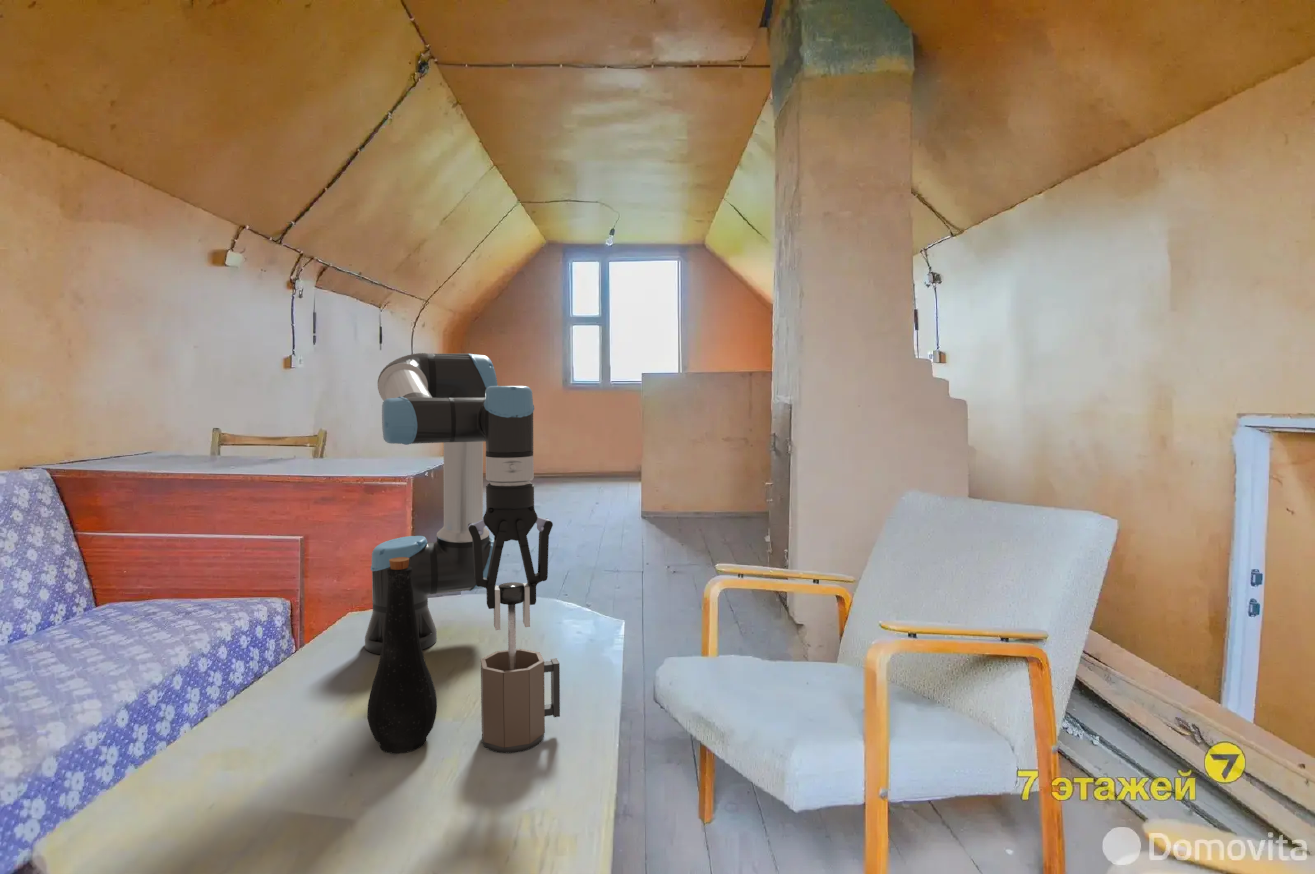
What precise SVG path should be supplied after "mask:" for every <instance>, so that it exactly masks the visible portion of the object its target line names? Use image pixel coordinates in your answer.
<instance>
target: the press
mask: <svg viewBox="0 0 1315 874" xmlns="http://www.w3.org/2000/svg"><path fill="white" fill-rule="evenodd" d="M560 672H561V671H560V662H559V660H558V658H556V657H555V658H550V660H549V661H545V660H544V657H543V656H542V653H541V652H540V651H536V650H529V649H525V648H516V670H509V659H508V649H504V650H497V651H495V652H492V653H490V654H488V655H486V656H484V657H482V658H480V697H481V698H480V705H481V706H480V707H481V717H480V718H481V744H482V746H483V747H484V748H486V750H489V751H492V752H494V753H500V754H516V753H521V752H525V751H528V750H531V749H533V748H535V747H537V746H539V744H541V743H542V742H543V740H544V738H545V733H546V730H545V729H546V727H545V725H546V724H545V722H546V720H545V718H546V717H550V716H553V718H558V717H559V718H560V717H561V713H560V712H561V701H560V699H561V693H560V691H561V689H560V688H561V686H560V678H561V677H560V676H561V675H560V674H561V673H560ZM546 673H550V704H545V674H546Z"/></svg>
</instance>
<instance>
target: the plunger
mask: <svg viewBox="0 0 1315 874" xmlns="http://www.w3.org/2000/svg"><path fill="white" fill-rule="evenodd" d="M498 586H499V589H500V605H506V606H507V639H508V640H507V641H508V642H507V643H508V644H507V646H508V649H507V650H508V659H509V670H516V649H517V648H516V647H517V639H516V638H517V628H516V627H517V626H516V625H517V623H516V621H517V620H516V619H517V618H516V605H518V604H523V601H524V584H522V582H515V581H514V582H513V581H511V582H505V583H501V584H499V585H498Z"/></svg>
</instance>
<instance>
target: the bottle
mask: <svg viewBox="0 0 1315 874" xmlns="http://www.w3.org/2000/svg"><path fill="white" fill-rule="evenodd" d="M389 562H390V568H389V569H387V575H388V583H387V607H386V618H385V628H384V636H383V645H382V650H381V654H380V657H379V662H378V665H377V666H378V667H377V670H376V673H375V676H374V679H373V681H372V685H371V689H370V693H369V697H368V703H367V722H368V726H369V729H370V732H371V734H372V736H373V738H374V739H375V741H376V742H377V743H378V744H379V747H380V750H381V751H383V753H388V754H397V755H398V754H406V753H410V752H413V751H415V750H418V749H419V748H421V747H423V746H424V745H425V744H426V743H427V737H428V736H429V734H430V733H431V732H432V730H433V728H434V724H435V720H436V717H437V712H438V711H437V709H438V707H437V706H438V705H437V703H438V702H437V699H438V698H437V692H436V689H435V688H436V687H435V684H434V680H433V678H432V676H431V673H430V670H429V668H428V665H427V664H426V659H425V657H424V652H423V650H422V648H421V644H420V639H419V633H418V627H417V621H416V614H415V607H414V598H413V586H412V574H411V573H412V568H411V567H409V566H408V565H409V558H407V557H397V558H392V559H390V560H389Z"/></svg>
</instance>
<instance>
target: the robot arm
mask: <svg viewBox="0 0 1315 874" xmlns="http://www.w3.org/2000/svg"><path fill="white" fill-rule="evenodd" d="M377 390H378V393H379V396H380V398H381V399H382V401H383V402H382V405H381V426H382V427H381V429H382V437H383V441H385V442H386V444H391V445H393V444H395V445H399V444H400V445H407V446H408V445H417V444H436V443H437V444H439V443H443V526H442V527H441V528H440V529H439V530H438V531H437V532H436V541H433V542H432V541H430V542H428V540H427V538H426V537H425V536H423V535H415V536H414V535H409V536H407V535H406V536H401V537H398V538H396V537H395V538H393V539H390V540H386V541H384V542H381V543H379V544H377V545H376V546H375V547H374V548H373V550H372V552H371V565H370V571H371V586H372V588H371V591H372V595H371V597H372V600H371V601H372V613H371V616H370V618H369V619H370V620H369V623H368V626H367V630H366V633H365V636H364V649H365V650H366V651H367V652H369V653H371V654H375V655H381V650H382V645H383V636H384V628H385V618H386V607H387V583H388V575H387V569H389V568H390V562H389V560H390V559H392V558H397V557H407V558H409V565H408V566H409V567H411V568H412V573H411V574H412V586H413V598H414V607H415V614H416V621H417V627H418V633H419V639H420V644H421V648H422V651H423V650H425V649H428V648H430V647H432V646H433V645H434V644H436V643H437V639H438V638H437V637H438V636H437V628H436V625H435V622H434V619H433V617H432V614H431V612H430V608H429V601H428V600H429V599H428V598H429V596H431V595H436V594H437V595H438V594H446V593H457V592H467V591H468V592H472V591H474V590H480V589H486V606H487V607H488V609H489V610H491V609H492V610H493V626H494V629H495V631H500V630H501V603H500V589H499V585H497V581H498V579H497V578H498V574H499V569H500V563H501V559H502V553H503V550H504V546H505V542H509V541H515V542H518V546H519V549H520V550H519V551H520V555H521V560H522V563H523V567H524V568H523V569H524V573H525V577H526V582H523V583H522V582H521V583H522V584H524V601H523V602H522V623H523V626H524V627H525V628H530V627H531V609H530V608H531V607H530V606H532V605H536V603H537V586H538V584H539V583H541V582H546V581H548V574H549V573H548V571H549V543H550V542H549V539H550V538H549V537H550V533H551V532H552V529H553V526H554V523H553V522H552V520H550V519H549V518H543V517H540V516H538V514H537V512H536V510H535V485H534V484H533V482H531V481H533V479H535V478H534V477H535V474H534V471H535V470H534V469H535V467H534V466H535V464H534V411H535V405H534V399H533V391H532V388H530V387H529V386H528V385H527V386H526V385H499V384H498V380H497V374H496V370H495V367H494V364H493V362H492V360H491V358H490V357H488V356H487V355H484V354H478V353H477V354H476V353H474V354H473V353H426V352H420V353H412V354H406V355H404V356H401V357H399V358H396V359H394V360H393V361H391V362H389V363H388V364H387V365H385V367H383V369H382V370H381V371H380V374H379V376H378V379H377ZM484 442H485V480H486V481H487V482H489V483H488V484H487V485H486V486H485V492H486V493H485V502H486V503H485V505H486V507H485V513H484V514H483V512H484V504H483V503H484V502H483V501H484V497H483V496H484V491H483V490H484ZM535 525H536V529H537V530H538V532H539V533H538V547H537V549H538V551H537V552H538V554H537V556H538V557H537V572H536V573H535V569H534V564H533V560H532V555H531V551H530V545H529V540H528V535H529V533H530V531H531V530H532V528H533V527H534V526H535ZM490 533H491V534H492V535H493V536H494V537H492V536H490Z"/></svg>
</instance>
